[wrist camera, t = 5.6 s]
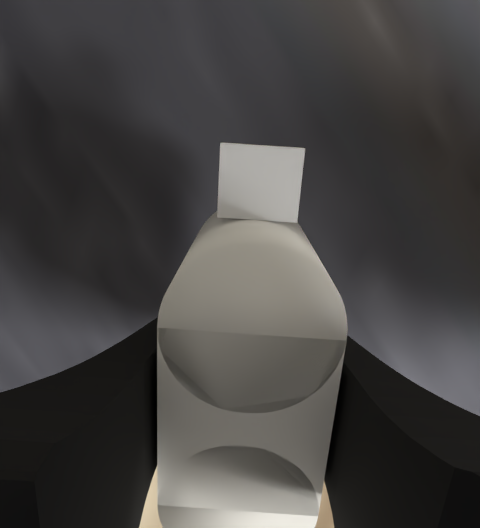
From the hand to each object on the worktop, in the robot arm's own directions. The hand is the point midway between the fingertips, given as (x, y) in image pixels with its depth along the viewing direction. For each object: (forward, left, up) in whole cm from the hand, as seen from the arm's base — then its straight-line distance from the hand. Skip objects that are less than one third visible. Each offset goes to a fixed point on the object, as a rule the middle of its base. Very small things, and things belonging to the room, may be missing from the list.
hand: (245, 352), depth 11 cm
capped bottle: (0, 0, -2) cm, 2 cm away
